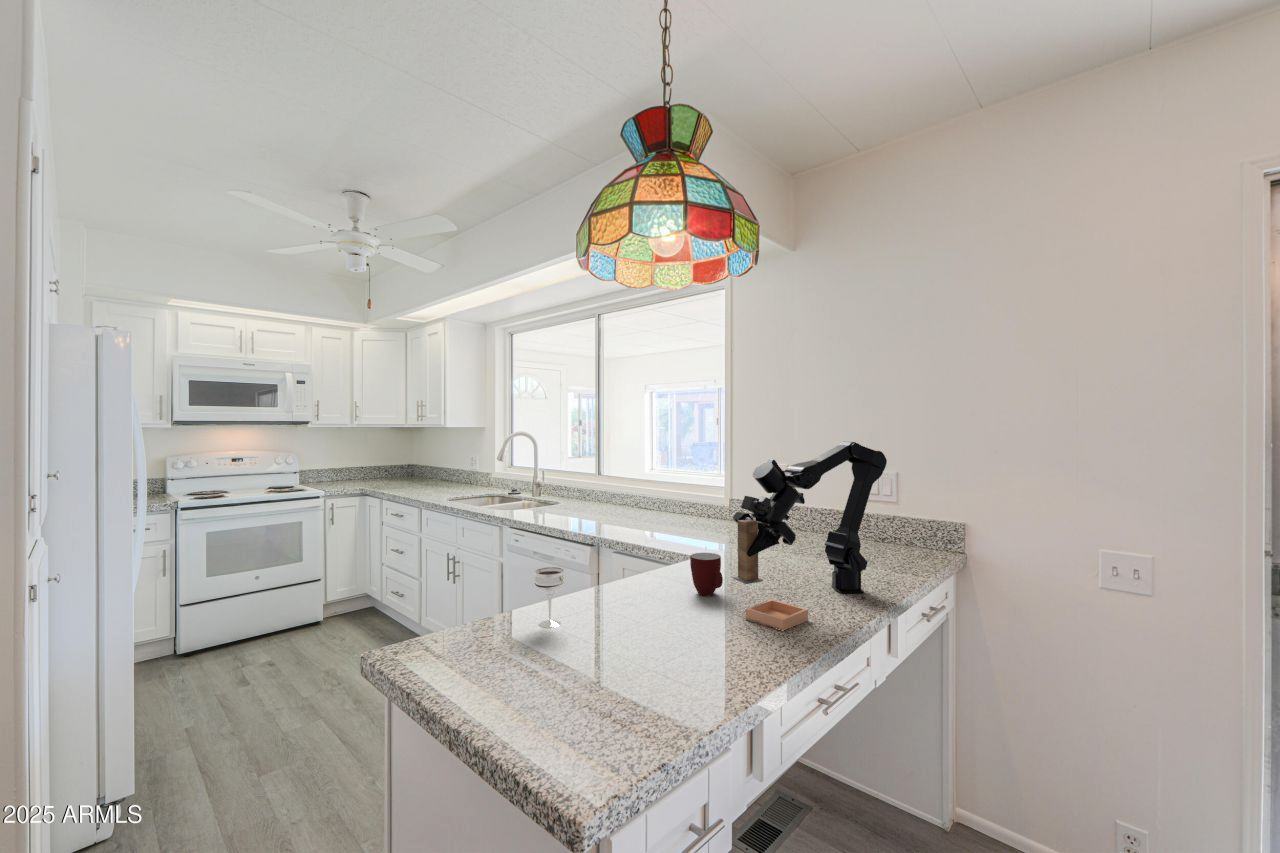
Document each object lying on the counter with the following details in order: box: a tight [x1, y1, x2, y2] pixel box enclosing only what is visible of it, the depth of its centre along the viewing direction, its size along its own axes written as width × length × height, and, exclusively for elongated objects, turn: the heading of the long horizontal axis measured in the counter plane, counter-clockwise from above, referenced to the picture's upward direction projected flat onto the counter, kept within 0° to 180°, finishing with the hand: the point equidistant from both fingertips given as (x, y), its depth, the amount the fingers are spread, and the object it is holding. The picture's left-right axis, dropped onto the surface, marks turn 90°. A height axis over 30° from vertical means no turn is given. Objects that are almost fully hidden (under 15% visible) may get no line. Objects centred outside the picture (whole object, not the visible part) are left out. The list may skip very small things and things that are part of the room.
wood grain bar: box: [733, 519, 764, 585], centre depth 133 cm, size 5×5×14 cm
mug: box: [689, 552, 724, 597], centre depth 144 cm, size 11×8×10 cm
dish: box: [745, 598, 809, 631], centre depth 125 cm, size 10×10×2 cm
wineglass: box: [534, 566, 565, 629], centre depth 124 cm, size 7×7×12 cm
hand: (743, 553), depth 133 cm, fingers closed on wood grain bar, 3 cm apart
